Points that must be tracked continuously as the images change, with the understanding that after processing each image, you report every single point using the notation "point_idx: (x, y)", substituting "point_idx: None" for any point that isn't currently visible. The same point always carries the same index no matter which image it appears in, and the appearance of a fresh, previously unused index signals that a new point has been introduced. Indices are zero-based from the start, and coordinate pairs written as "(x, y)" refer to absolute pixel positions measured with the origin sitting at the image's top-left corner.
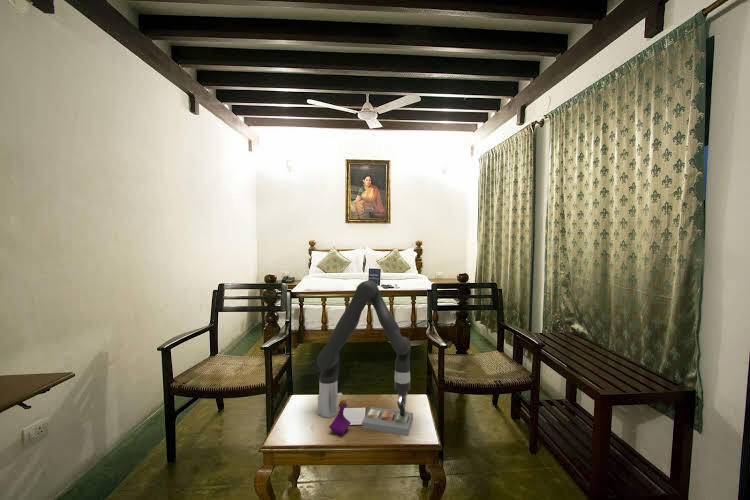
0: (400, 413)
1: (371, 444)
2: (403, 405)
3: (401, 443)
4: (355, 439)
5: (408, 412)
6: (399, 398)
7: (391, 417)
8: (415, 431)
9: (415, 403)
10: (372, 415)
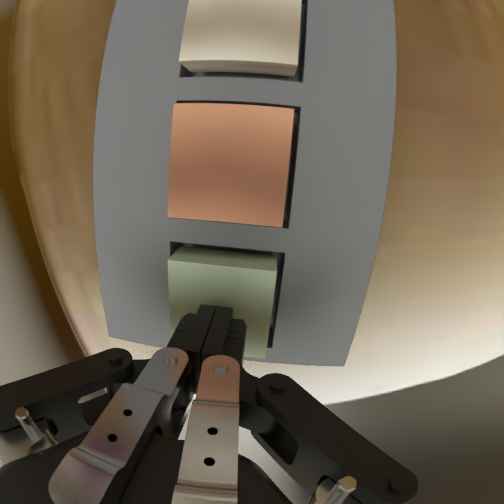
0: (198, 316)
1: (15, 126)
2: (83, 427)
3: (57, 281)
4: (42, 32)
5: (349, 337)
6: (19, 459)
7: (168, 211)
8: None
9: (496, 325)
10: (188, 13)
